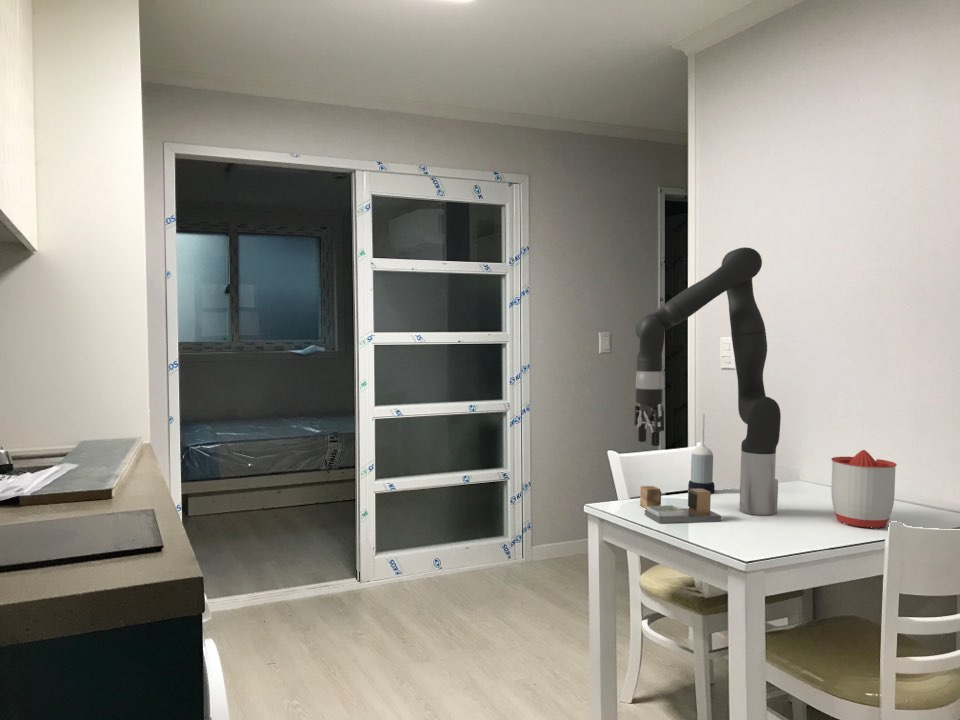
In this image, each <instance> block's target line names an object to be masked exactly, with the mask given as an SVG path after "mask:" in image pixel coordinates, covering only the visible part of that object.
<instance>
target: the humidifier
mask: <svg viewBox="0 0 960 720" xmlns="http://www.w3.org/2000/svg"><path fill="white" fill-rule="evenodd" d="M700 434H701V435H700V437H701V438H700V444H699V445H698V446H696V447H695V448H694V449H693V450H692V452H691V455H690V456H691V459H690V480H689V481H688V484H687V485H688V487H687V488H688V489H687V491H688V492H689V489H705V490H707V491H710V492H711V495H712V494H714V493H715V482H713V475H714V472H713V471H714V470H713V469H714V454H713V452H712V450H711V449H710V448H709V447H707V446H706V444H705V413H701V433H700Z"/></svg>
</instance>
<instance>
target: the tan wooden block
mask: <svg viewBox="0 0 960 720" xmlns="http://www.w3.org/2000/svg"><path fill="white" fill-rule="evenodd" d="M639 496H640V497H639V498H640V499H639V500H640V501H639V507H640V506H641V507H643V508H645V509H646V510H647V506H662V491H661V488H658V487H656V486H654V485H650V486H649V485H647V486H646V485H640V495H639ZM641 507H640V508H641ZM643 508H642V509H643ZM645 509H644V510H645Z"/></svg>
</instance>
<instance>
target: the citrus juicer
mask: <svg viewBox="0 0 960 720" xmlns="http://www.w3.org/2000/svg"><path fill="white" fill-rule="evenodd" d="M831 462H832V463H831V465H832V466H831V468H832V469H831V500H832V501H831V502H832V506H833V511H834V512H833V513H834V514H835V517H836V519H837V521H838V522H840V523H842V524H843V523H845V524H849V525H848V526H854V527H861V528H869V527H872V528H871V529H873V528H877V529H878V528H884V527H886V526H887V525H888V522H889V520H890V519H891V518H890V517H891V514H892V512H893V508H894V503H895V496H896V495H895V493H896V491H895V490H896V489H895V488H896V486H895V485H896V467H897V463H896V462H893V461H890V460H885V459H878V458H877V459H876V460H875V458H874V457H873V456H872V455H871V453H869V452H868V451H867V450H865V449H863V450H862V449H861V451H859V452H858V453H856V454H855V455H854V456H834V457H832V458H831ZM845 524H844V525H845Z"/></svg>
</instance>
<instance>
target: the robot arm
mask: <svg viewBox="0 0 960 720" xmlns="http://www.w3.org/2000/svg"><path fill="white" fill-rule="evenodd" d="M762 266H763V259H762V255H760V252H759V251H757V250H756V249H754V248H753V247H752V248H751V247H738V248H736V249H734V250H731V251H729V252H728V253H726V254H725V255H724V256H723V258H722V261H721V266H719V267H718V268H717V269H715V271H713V272H712V273H710V274H709V275H707V276H706V277H703V279H701V280H699V281H698V282H696V283H693V284H692V285H690V286H689V287H687V288H685V289H684V290H682V291H680V292H679V293H678V294H677V295H675V296H673V298H671V299H669V300H668V301H667V302H666V303H664V304H663V305H662V306H661V307H659V308H657V309H655V310H654V311H652V312H650V313H649V314H647V315H646V316H644V317H642V318H641V319H639V321H638V322H636V326H635V334H636V336H637V338H638V339H639V351H638V352H637V356H636V374H635V375H636V376H635V403H636V404H638V405H634V420H633V421H634V423H633V424H634V426H636V428H637V429H638V430H637V441H638V442H641V443H645V442H646V441H647V427H649V428H650V432H651V435H650V437H651V438H650V445H651V446H652V447H659V446H660V442H661V441H660V440H661V439H660V434H661V433H662V432H664V431H665V410H664V409H659V407H658V405H661V404H663V400H664V398H663V395H664V393H663V392H664V389H663V388H664V387H663V385H664V382H663V381H664V378H663V350H664V343H665V337H666V336H665V332H666V331H668V330H669V329H671V328H672V327H673V326H677V325H679V324H681V323H683V321H686V320H687V319H688V318H689V317H691V316H692V315H694V314H695V313H696V312H698V311H699V310H700V309H702V308H703V307H704V306H707V304H709V303H710V302H712V301H713V300H714V299H715V298H717V297H719V296H720V295H722V294H724V293H725V292H726V295H727V302H728V312H729V313H728V314H729V323H730V335H731V341H732V343H731V344H732V350H733V354H734V364H735V370H736V377H737V387H738V388H737V398H738V399H737V405H738V407H737V408H738V415H739V417H740V419H741V421H742V422H743V423H744V424H746V425H747V426H746V436H745V438H744V439H743V440H742V441H741V445H740V447H741V449H740V452H741V453H740V478H739V479H740V481H739V482H740V483H739V511H740V512H741V513H745V514H749V515H757V516H771V515H774V514H778V497H779V496H778V495H779V480H778V479H776V462H777V461H776V458H777V456H776V455H777V447H778V445H779V442H780V441H779V440H780V432H781V417H782V415H781V409H780V405H779V404H778V402H777V401H776V400H775V399H774V398H772V397H768V396H767V395H766V391H765V385H764V369H765V363H766V360H767V355H768V341H767V332H766V326H765V322H764V319H763V317H762V316H763V315H762V313H761V311H760V309H759V306H758V305H757V302H756V300H755V294H754V286H753V278H755V277H756V276H757V275H758V273H759V272H760V271H761V268H762Z"/></svg>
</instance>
